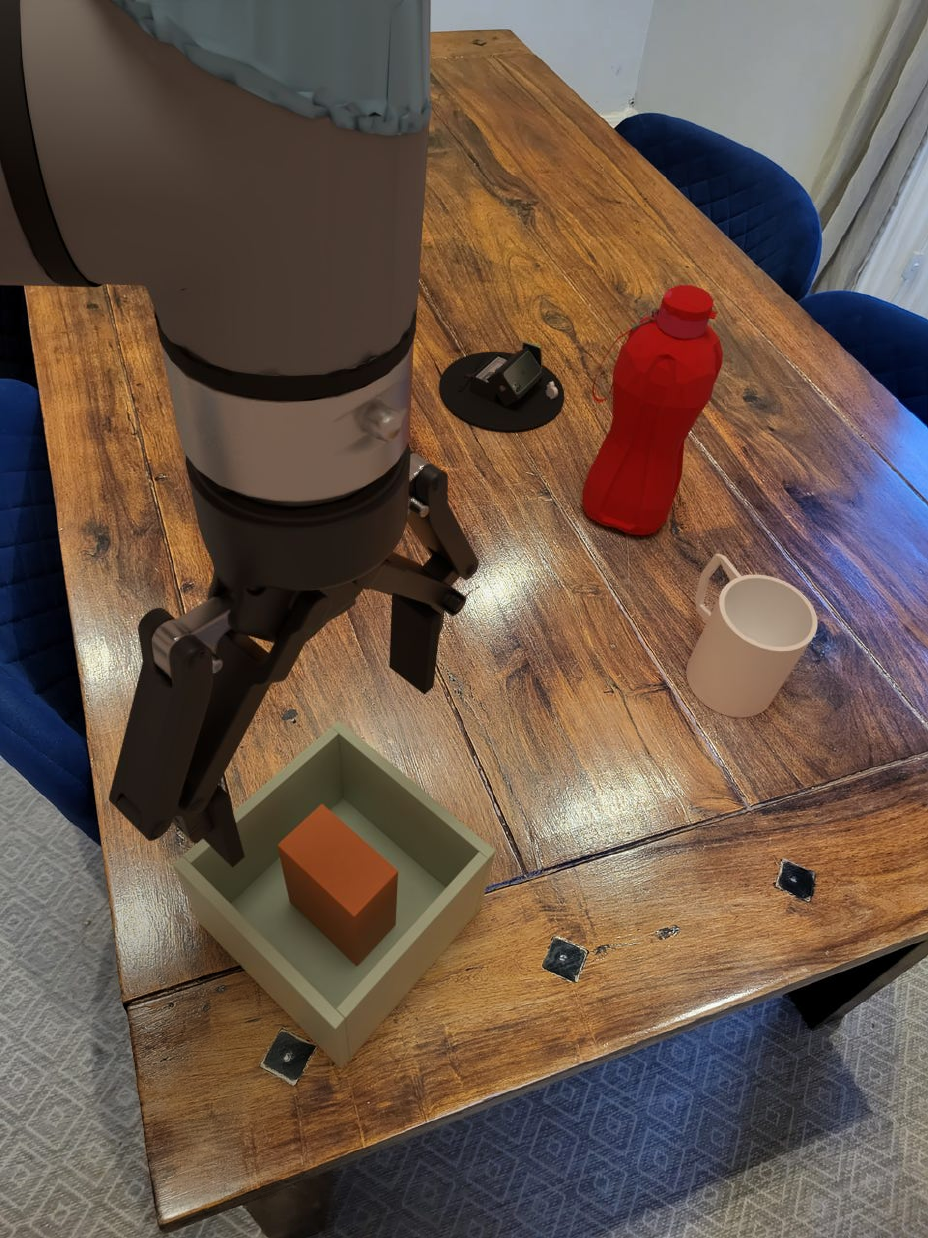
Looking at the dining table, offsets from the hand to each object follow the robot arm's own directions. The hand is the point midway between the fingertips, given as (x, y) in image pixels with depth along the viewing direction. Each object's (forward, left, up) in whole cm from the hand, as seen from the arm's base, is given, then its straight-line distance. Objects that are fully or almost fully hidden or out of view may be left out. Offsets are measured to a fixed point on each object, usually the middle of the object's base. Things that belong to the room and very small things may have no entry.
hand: (323, 754), depth 46 cm
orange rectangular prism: (0, 0, -23) cm, 23 cm away
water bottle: (+51, +10, -24) cm, 57 cm away
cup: (+40, -9, -24) cm, 48 cm away
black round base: (+57, +31, -24) cm, 69 cm away
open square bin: (0, 0, -24) cm, 24 cm away
